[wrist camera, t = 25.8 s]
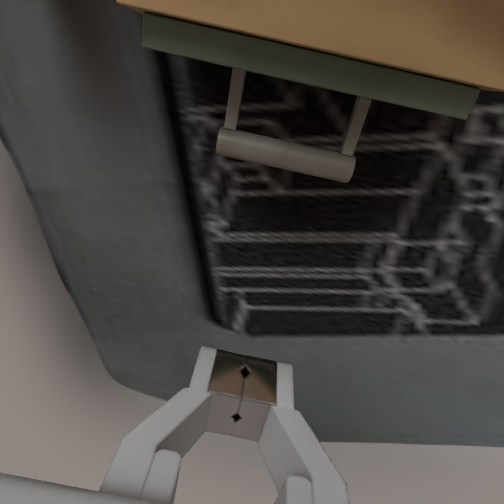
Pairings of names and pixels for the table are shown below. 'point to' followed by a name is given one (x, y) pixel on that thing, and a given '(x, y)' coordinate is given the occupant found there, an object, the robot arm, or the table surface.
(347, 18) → the cabinet
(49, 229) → the table surface
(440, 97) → the drawer
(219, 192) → the table surface
